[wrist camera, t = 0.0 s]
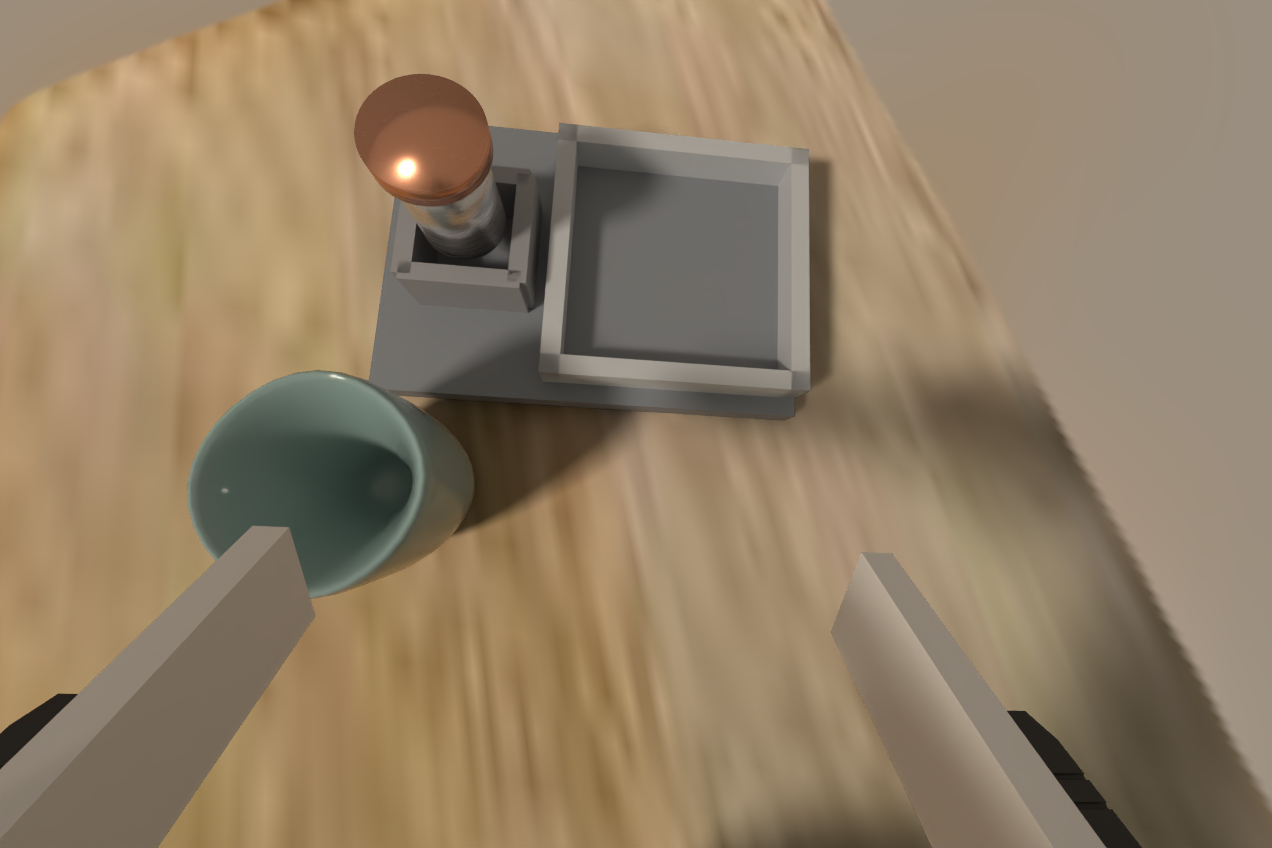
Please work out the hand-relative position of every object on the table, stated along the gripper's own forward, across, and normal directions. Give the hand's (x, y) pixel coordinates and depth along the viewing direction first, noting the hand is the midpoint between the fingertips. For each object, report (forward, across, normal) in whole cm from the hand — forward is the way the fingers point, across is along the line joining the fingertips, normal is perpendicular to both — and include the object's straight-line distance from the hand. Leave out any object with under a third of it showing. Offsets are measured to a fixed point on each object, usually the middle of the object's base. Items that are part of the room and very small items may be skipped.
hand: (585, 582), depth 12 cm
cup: (+14, +10, +7) cm, 18 cm away
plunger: (+18, +7, -6) cm, 20 cm away
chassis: (+21, +1, -3) cm, 22 cm away
